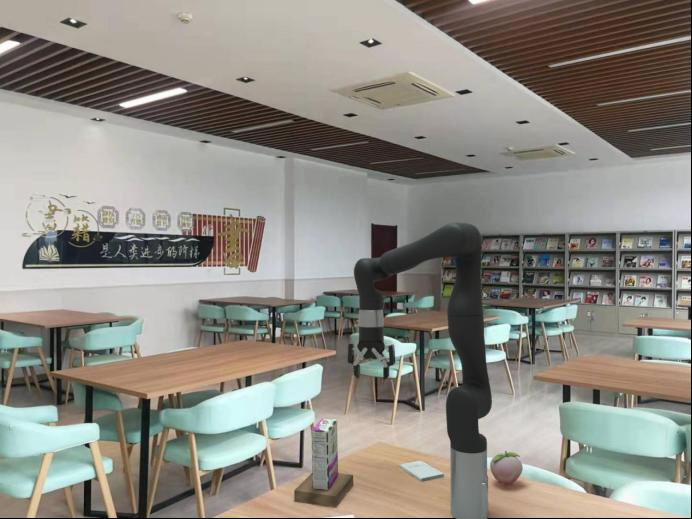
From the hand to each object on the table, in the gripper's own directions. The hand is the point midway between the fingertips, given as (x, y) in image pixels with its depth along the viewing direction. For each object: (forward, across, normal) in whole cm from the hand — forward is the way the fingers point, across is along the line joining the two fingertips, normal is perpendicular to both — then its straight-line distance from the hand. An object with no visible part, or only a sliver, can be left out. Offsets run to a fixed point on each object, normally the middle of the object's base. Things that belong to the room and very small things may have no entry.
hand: (371, 378), depth 162 cm
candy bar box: (+27, +10, +14) cm, 32 cm away
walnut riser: (+30, +10, +14) cm, 34 cm away
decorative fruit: (+30, -38, -8) cm, 49 cm away
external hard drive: (+31, -13, -10) cm, 35 cm away
